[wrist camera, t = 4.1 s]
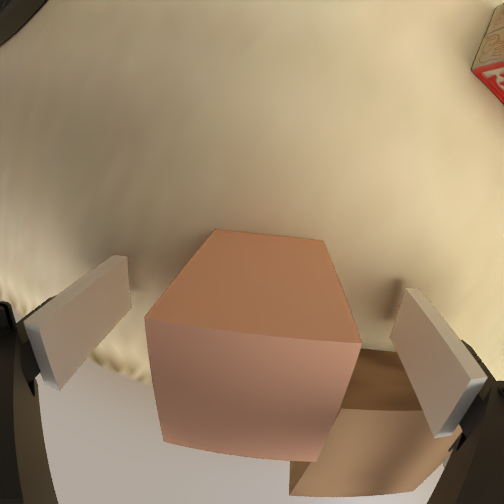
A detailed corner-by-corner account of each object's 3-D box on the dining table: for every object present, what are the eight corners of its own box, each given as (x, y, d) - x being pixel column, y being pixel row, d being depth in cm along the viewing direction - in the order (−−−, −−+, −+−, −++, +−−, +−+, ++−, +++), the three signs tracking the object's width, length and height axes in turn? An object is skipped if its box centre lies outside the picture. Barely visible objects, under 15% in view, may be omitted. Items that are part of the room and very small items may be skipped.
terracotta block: (211, 321, 16) (163, 441, 8) (215, 229, 14) (144, 317, 7) (306, 332, 16) (316, 461, 8) (323, 240, 14) (362, 343, 6)
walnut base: (290, 438, 19) (289, 495, 14) (329, 342, 16) (341, 408, 11) (399, 442, 19) (412, 491, 14) (456, 354, 16) (489, 405, 11)
